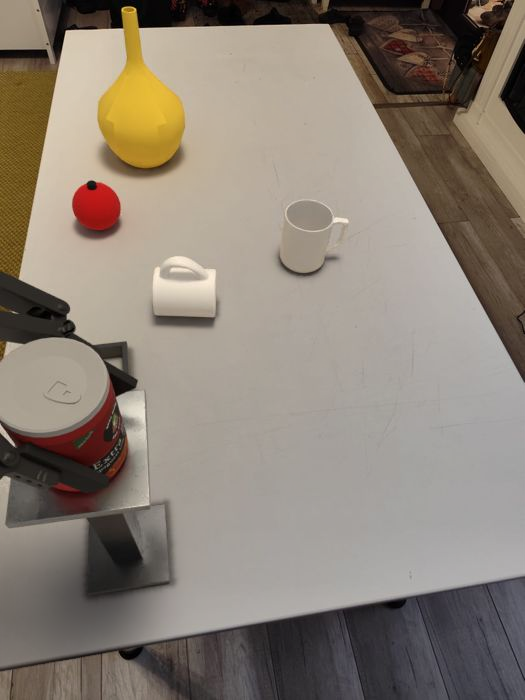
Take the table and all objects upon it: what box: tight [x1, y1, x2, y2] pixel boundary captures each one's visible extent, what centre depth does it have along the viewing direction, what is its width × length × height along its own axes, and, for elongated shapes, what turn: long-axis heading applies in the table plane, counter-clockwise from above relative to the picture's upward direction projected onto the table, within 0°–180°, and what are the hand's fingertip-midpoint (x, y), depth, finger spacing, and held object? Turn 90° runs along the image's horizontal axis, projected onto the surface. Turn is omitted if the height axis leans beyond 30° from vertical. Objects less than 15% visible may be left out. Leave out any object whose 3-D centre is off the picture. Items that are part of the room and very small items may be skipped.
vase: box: [96, 6, 186, 169], centre depth 106 cm, size 18×18×30 cm
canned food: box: [0, 338, 128, 492], centre depth 39 cm, size 8×8×11 cm
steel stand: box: [4, 389, 171, 596], centre depth 56 cm, size 11×11×30 cm
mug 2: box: [279, 198, 350, 274], centre depth 98 cm, size 12×9×11 cm
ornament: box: [71, 179, 122, 231], centre depth 100 cm, size 9×9×10 cm
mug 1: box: [151, 255, 218, 318], centre depth 88 cm, size 8×10×12 cm
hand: (113, 433), depth 41 cm, fingers closed on canned food, 8 cm apart
